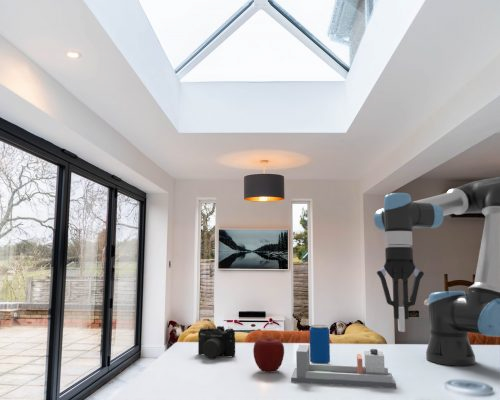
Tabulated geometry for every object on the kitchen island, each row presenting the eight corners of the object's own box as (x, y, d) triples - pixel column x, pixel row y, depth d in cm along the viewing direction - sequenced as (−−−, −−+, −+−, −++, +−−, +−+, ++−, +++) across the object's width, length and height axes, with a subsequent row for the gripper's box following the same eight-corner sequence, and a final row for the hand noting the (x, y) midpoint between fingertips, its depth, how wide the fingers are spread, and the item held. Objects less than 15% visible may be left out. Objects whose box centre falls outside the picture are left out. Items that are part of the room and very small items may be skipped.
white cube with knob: (383, 373, 125) (382, 348, 126) (385, 378, 120) (383, 352, 121) (364, 372, 126) (364, 347, 127) (366, 377, 121) (365, 351, 122)
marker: (361, 371, 127) (361, 354, 127) (362, 377, 120) (362, 358, 121) (357, 371, 127) (356, 353, 127) (358, 377, 121) (357, 358, 121)
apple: (274, 377, 127) (274, 341, 128) (247, 372, 132) (247, 338, 133) (289, 370, 135) (289, 336, 136) (263, 366, 140) (262, 333, 141)
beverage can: (329, 366, 139) (329, 327, 141) (309, 365, 141) (308, 327, 142) (330, 361, 146) (329, 324, 147) (310, 361, 147) (310, 324, 149)
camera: (188, 358, 151) (188, 328, 152) (202, 352, 161) (202, 324, 162) (225, 361, 146) (225, 331, 147) (237, 355, 156) (237, 326, 157)
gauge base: (391, 377, 127) (390, 348, 128) (396, 388, 116) (394, 356, 117) (295, 372, 132) (294, 344, 134) (291, 382, 122) (290, 351, 123)
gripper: (420, 247, 128) (423, 329, 125) (374, 246, 131) (376, 328, 128) (425, 246, 121) (428, 334, 118) (376, 246, 124) (378, 331, 120)
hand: (401, 330), depth 123 cm, fingers closed
